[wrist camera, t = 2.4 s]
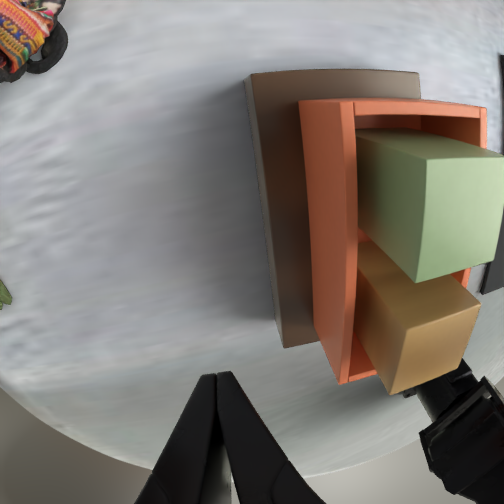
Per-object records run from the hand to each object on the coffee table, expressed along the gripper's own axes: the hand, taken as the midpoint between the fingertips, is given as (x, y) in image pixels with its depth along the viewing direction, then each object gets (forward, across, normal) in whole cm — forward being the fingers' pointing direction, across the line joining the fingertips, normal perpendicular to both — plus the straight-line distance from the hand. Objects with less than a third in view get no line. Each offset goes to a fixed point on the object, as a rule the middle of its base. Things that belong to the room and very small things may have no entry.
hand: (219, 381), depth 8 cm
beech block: (+8, -8, +3) cm, 12 cm away
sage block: (+8, -8, -3) cm, 12 cm away
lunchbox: (+9, -8, 0) cm, 12 cm away
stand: (+12, -8, 0) cm, 14 cm away
